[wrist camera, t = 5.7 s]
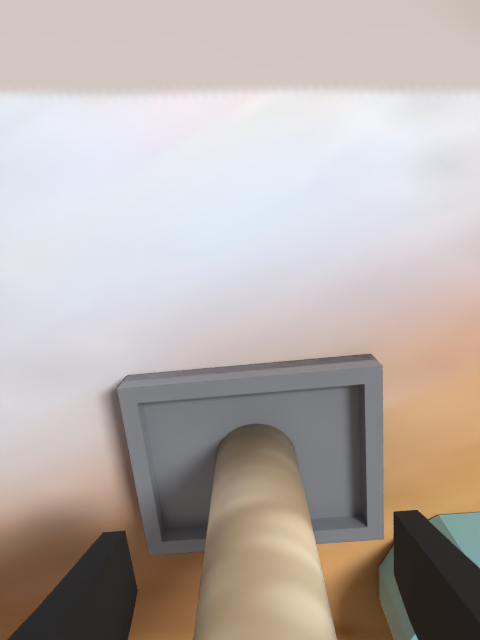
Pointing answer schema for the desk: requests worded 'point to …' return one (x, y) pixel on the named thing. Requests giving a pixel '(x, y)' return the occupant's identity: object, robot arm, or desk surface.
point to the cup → (461, 529)
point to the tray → (257, 408)
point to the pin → (260, 546)
